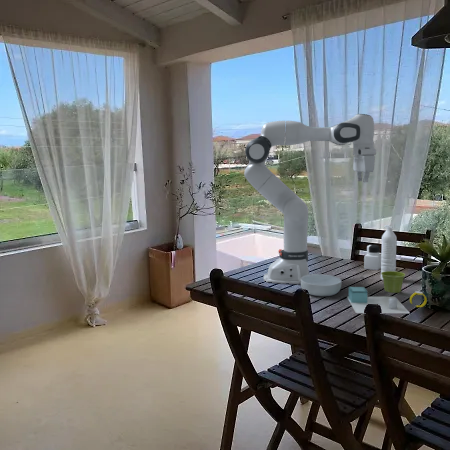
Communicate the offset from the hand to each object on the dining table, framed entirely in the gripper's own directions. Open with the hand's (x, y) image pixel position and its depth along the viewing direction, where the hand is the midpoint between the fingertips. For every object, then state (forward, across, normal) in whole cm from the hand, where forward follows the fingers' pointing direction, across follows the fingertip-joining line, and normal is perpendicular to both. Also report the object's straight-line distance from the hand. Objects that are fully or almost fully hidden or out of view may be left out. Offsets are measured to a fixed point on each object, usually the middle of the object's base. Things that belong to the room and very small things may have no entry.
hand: (362, 181), depth 198 cm
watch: (+46, +38, +11) cm, 61 cm away
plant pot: (+46, +22, +8) cm, 52 cm away
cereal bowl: (+46, +21, -22) cm, 56 cm away
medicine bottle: (+46, -21, +13) cm, 52 cm away
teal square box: (+45, +33, -10) cm, 57 cm away
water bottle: (+46, -1, +13) cm, 48 cm away
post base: (+46, +39, -5) cm, 60 cm away
